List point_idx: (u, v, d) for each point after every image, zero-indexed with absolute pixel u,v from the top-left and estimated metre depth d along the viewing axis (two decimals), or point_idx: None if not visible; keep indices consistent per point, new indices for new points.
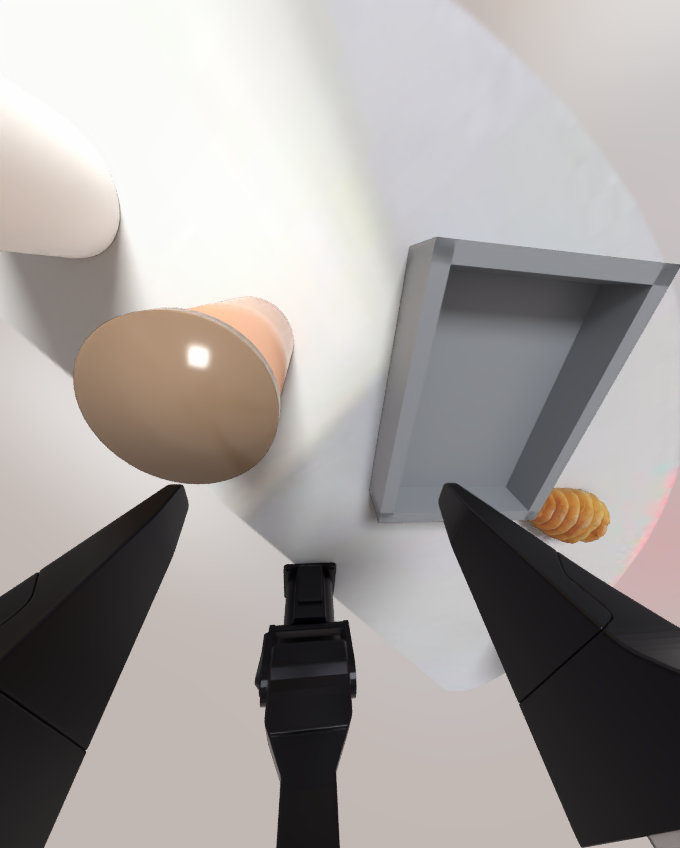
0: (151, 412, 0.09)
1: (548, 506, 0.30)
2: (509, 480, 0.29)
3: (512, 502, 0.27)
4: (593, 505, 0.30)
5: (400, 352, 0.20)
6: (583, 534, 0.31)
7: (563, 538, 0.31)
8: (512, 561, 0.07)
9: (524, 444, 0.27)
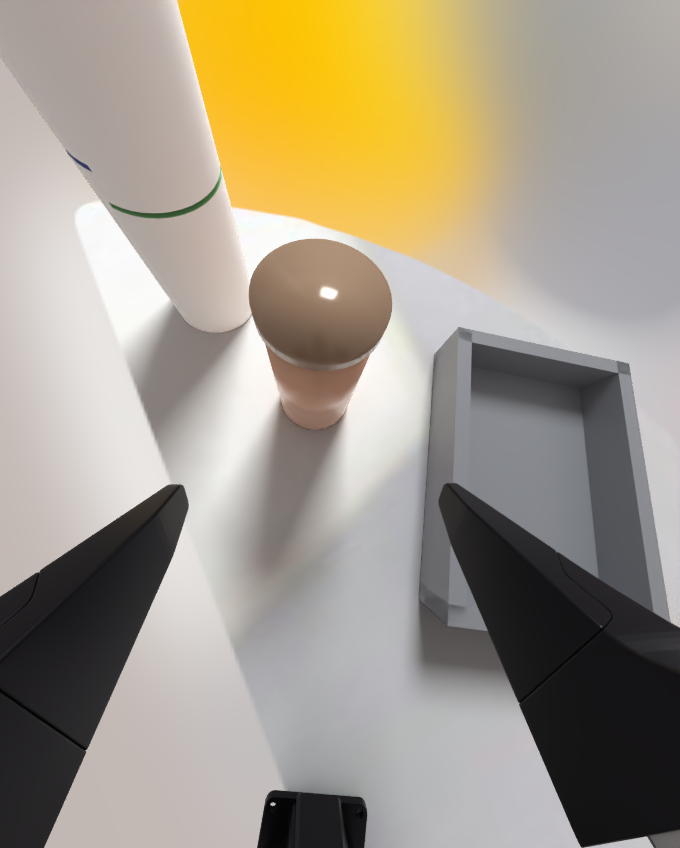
0: (299, 292, 0.12)
1: None
2: None
3: None
4: None
5: (440, 412, 0.23)
6: None
7: None
8: (512, 561, 0.07)
9: (593, 539, 0.23)
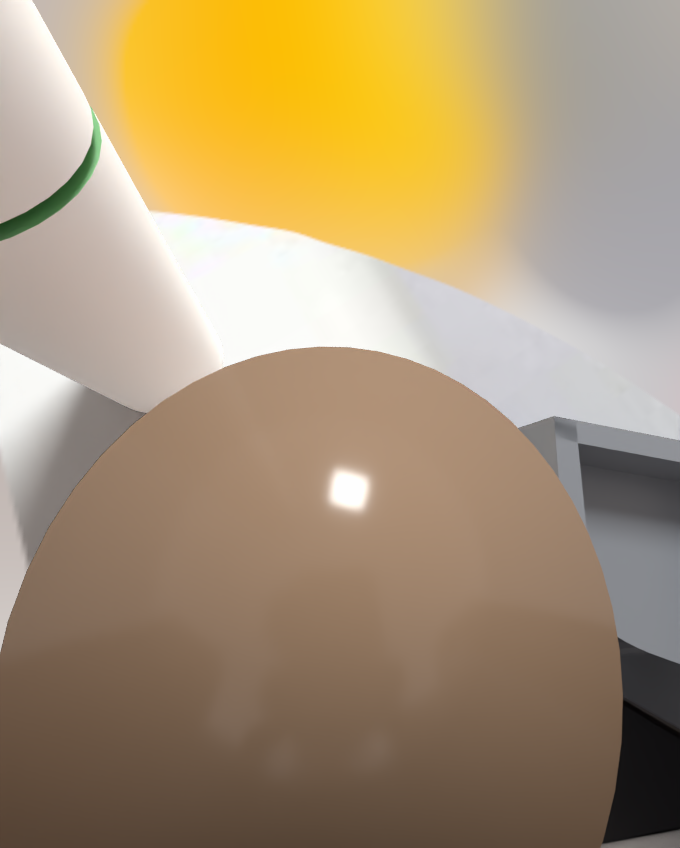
0: (248, 610, 0.03)
1: None
2: None
3: None
4: None
5: None
6: None
7: None
8: None
9: None
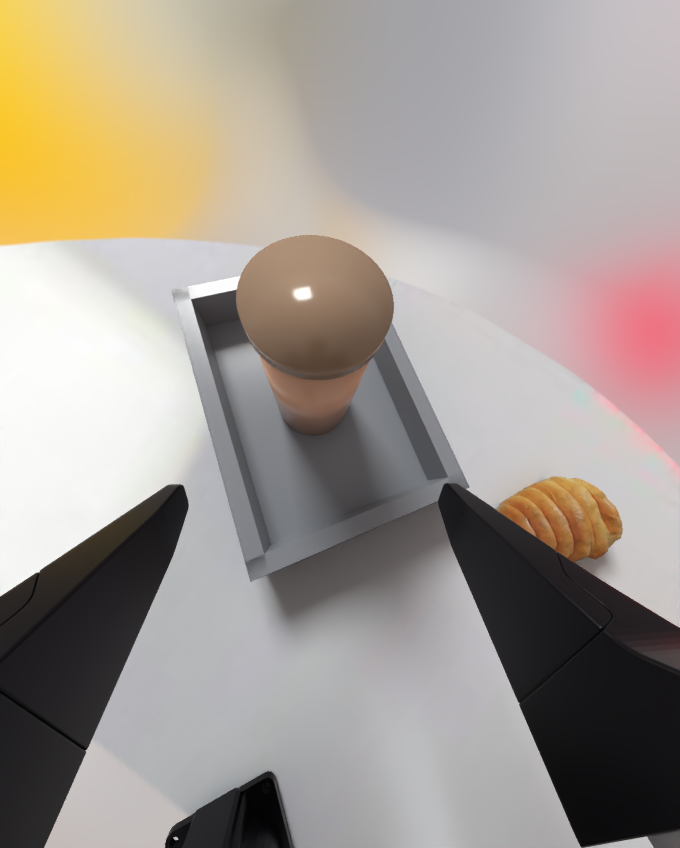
0: (292, 294, 0.11)
1: (516, 519, 0.22)
2: (423, 469, 0.23)
3: (431, 482, 0.20)
4: (561, 486, 0.23)
5: None
6: (595, 527, 0.21)
7: (584, 550, 0.21)
8: (512, 561, 0.07)
9: (401, 422, 0.24)
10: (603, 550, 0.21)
